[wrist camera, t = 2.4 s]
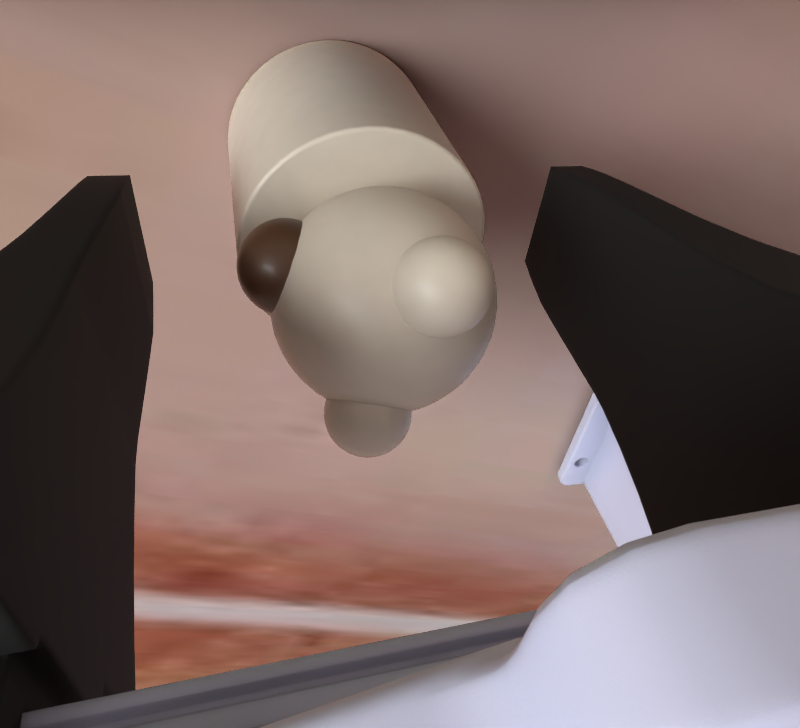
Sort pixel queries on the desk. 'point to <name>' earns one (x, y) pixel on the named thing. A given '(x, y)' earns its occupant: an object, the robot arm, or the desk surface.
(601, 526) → the desk surface
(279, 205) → the toy bear
